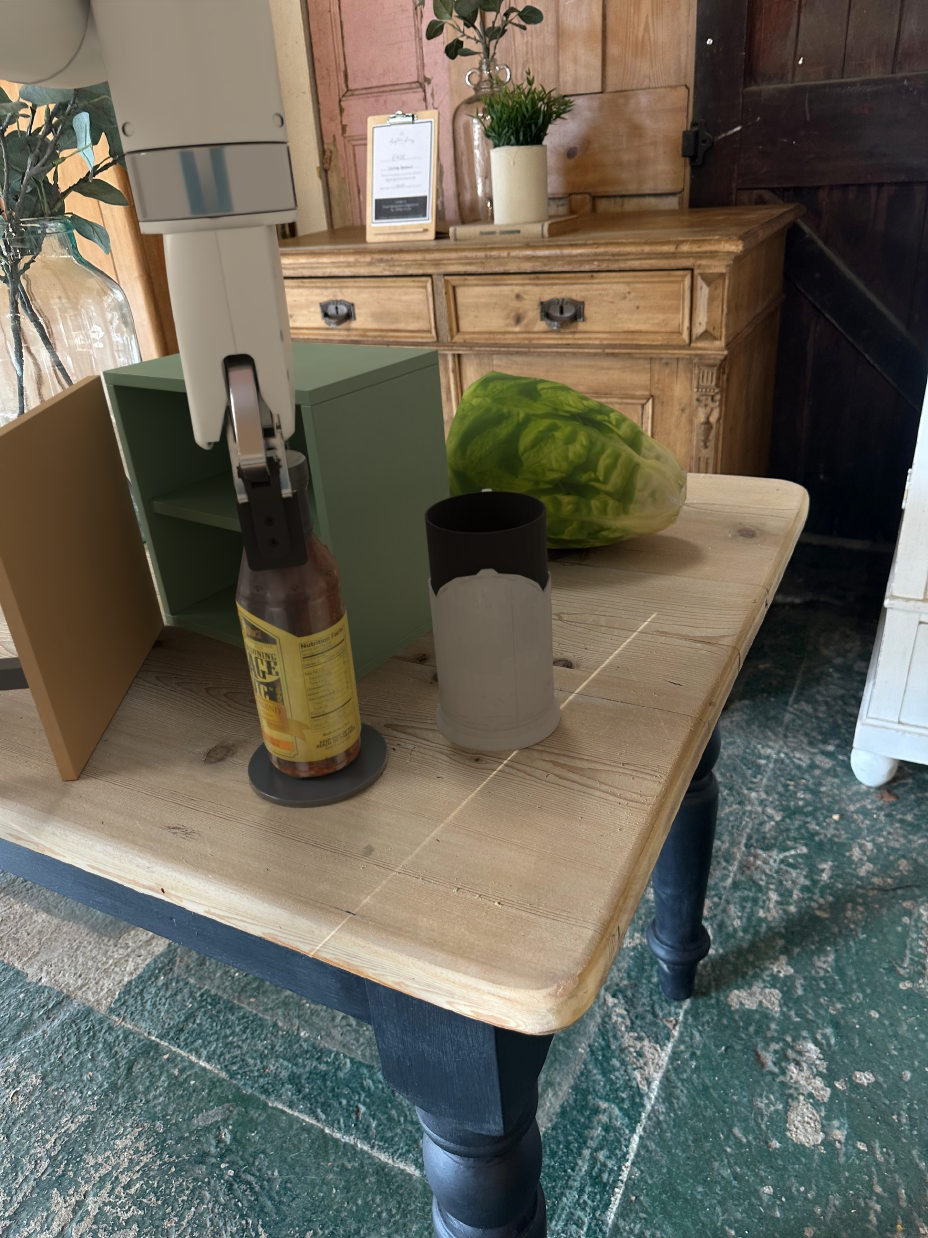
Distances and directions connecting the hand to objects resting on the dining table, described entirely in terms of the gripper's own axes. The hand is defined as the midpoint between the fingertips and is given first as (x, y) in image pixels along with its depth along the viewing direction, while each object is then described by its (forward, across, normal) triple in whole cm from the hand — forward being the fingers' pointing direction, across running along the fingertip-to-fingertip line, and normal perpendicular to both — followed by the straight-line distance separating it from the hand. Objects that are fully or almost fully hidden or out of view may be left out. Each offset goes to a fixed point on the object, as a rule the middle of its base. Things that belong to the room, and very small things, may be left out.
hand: (279, 546), depth 49 cm
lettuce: (+16, -31, +26) cm, 43 cm away
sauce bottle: (+15, 0, 0) cm, 15 cm away
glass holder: (+16, -5, +13) cm, 21 cm away
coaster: (+15, 0, 0) cm, 15 cm away
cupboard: (+15, -22, 0) cm, 27 cm away
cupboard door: (+15, -14, -18) cm, 27 cm away
